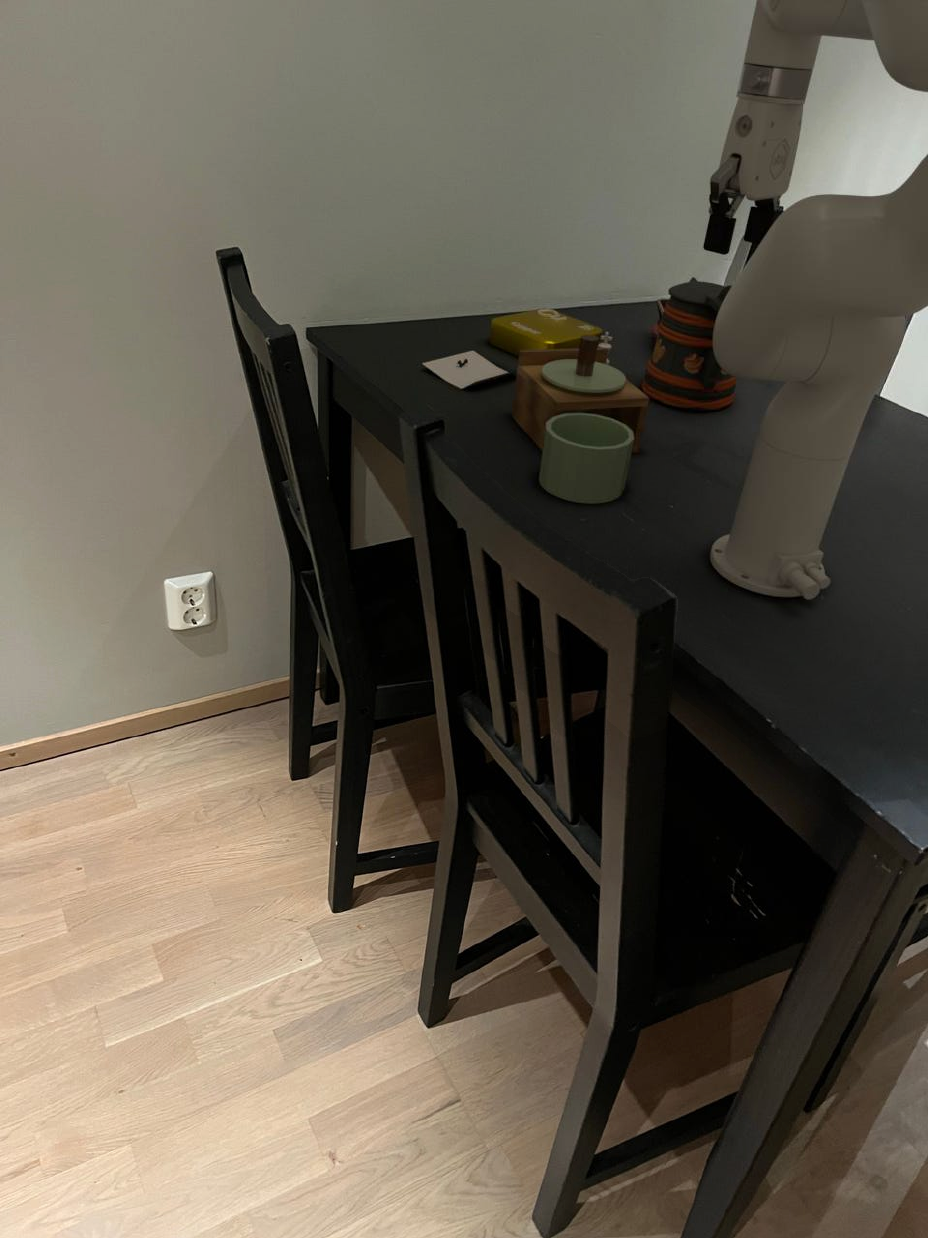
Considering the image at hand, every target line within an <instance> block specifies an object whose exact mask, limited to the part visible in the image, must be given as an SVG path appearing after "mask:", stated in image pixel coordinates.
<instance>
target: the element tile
mask: <svg viewBox="0 0 928 1238" xmlns="http://www.w3.org/2000/svg"><path fill="white" fill-rule="evenodd" d="M490 324H491V325H490V335H489V344H490V345H491V346H493V347H494V348H496V349H498V350H501V351H504V352H506V353H509V354H511V355H513V356H515V357H518V358H519V351H520V350H543V349H575V348H579V345H580V338H581V336H582V335H593V336H596V337H598V345H599V344H600V343H602V339H601V336H603V329H602V328H601V327H599V326H596V325H593V324H591V323H588V322H585V321H583V320H580V319H577V318H575V317H572V316H569V315H567V314H564V313H561V312H559V311H557V310H554V309H551V308H547V307H544V308H538V309H533V310H527V311H523V312H518V313H512V314H509V315H503V316H498V317H495V318H492V319H491V323H490ZM598 345H597V348H599V347H598Z"/></svg>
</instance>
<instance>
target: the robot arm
mask: <svg viewBox="0 0 928 1238" xmlns="http://www.w3.org/2000/svg"><path fill="white" fill-rule="evenodd" d="M753 11H754V12H753V17H752V22H751V27H750V29H749V36H748V40H747V45H746V50H745V54H744V59H743V63H742V68H741V72H740V77H739V82H738V86H737V92H736V95H735V97H736V98H737V101H736V104H735V107H734V110H733V113H732V116H731V119H730V123H729V126H728V130H727V132H726V133H727V134H726V137H725V142H724V144H723V148H722V153H721V157H720V160H719V166H718V169H717V170H715V171H714V173H713V174H712V175H711V176H710V179H709V189H710V190H709V191H710V193H709V195H708V201H709V208H708V214H709V217H708V222H707V226H706V231H705V236H704V240H703V247H702V248H703V250H704V251H707V252H711V253H715V254H719V255H722V256H724V255H728V254H729V253H730V249H731V246H732V240H733V237H734V232H735V228H736V223H737V218H735V214H736V213H737V211H738V209H739V207H740V206H741V204H742V203H743V200H744V199H745V198H746V199H747V200H748V201H750V202H751V201H752V202H754V205H751V206H750V209H749V213H748V217H747V221H746V225H745V230H744V233H743V241H744V242H746V243H751V244H756V245H758V246H757V248H755V250H754V252H753V253H752V255H751V256H750V258H749V259H748V261H747V262H746V264H745V265H744V267H743V269H742V270H741V272H740V273H739V275H738V276H737V278H736V279H735V280H734V282H733V284H732V287H731V289H730V290H729V292H728V294H727V295H726V297H725V299H724V301H723V303H722V305H721V308H720V310H719V312H718V315H717V318H716V322H715V326H714V331H713V351H714V355H715V358H716V360H717V362H718V364H719V365H720V367H721V368H722V369H723V370H724V371H725V372H726V373H728V374H729V375H731V376H733V377H736V378H737V379H740V380H745V381H754V382H755V381H757V382H776V383H777V382H778V383H779V382H781V383H785V384H784V385H783V386H782V387H781V389H780V390H779V391H778V392H777V393H776V394H775V396H774V397H773V398H772V399H771V401H770V403H769V404H768V406H767V407H766V410H765V412H764V414H763V417H762V419H761V421H760V424H759V425H760V426H759V430H758V431H757V435H756V439H755V443H754V446H753V450H752V454H751V457H750V460H749V465H748V468H747V471H746V475H745V479H744V482H743V486H742V489H741V493H740V496H739V500H738V504H737V507H736V511H735V514H734V518H733V522H732V525H731V529H730V533H729V534H725V535H723V536H721V537H718V538H717V539H716V540H715V541H714V542H713V544H712V546H711V549H710V553H709V560H710V563H711V565H712V567H713V568H714V570H715V571H717V573H718V574H719V575H721V577H723V578H724V579H726V580H727V581H729V582H731V583H732V584H733V585H736V586H738V587H739V588H742V589H745V590H747V591H750V592H753V593H756V594H761V595H764V596H771V597H778V598H797V597H803V598H804V599H806V600H808V601H810V600H813V599H815V598H817V596H818V595H819V593H820V592H821V590H824V589H826V588H828V587H829V586H830V585H831V581H832V580H831V579H830V577H829V576H827V574H826V571H825V570H826V569H825V567H824V565H823V563H822V560H823V558H824V552H823V551H822V550H820V545H821V543H822V540H823V536H824V535H825V530H826V528H827V524H828V521H829V519H830V516H831V513H832V511H833V508H834V504H835V502H836V499H837V496H838V493H839V491H840V488H841V484H842V481H843V479H844V476H845V473H846V470H847V467H848V464H849V461H850V458H851V455H852V453H853V451H854V448H855V445H856V442H857V439H858V437H859V434H860V431H861V429H862V426H863V423H864V421H865V419H866V416H867V413H868V411H869V408H870V406H871V404H872V402H873V401H874V398H875V396H876V394H877V392H878V390H879V388H880V387H881V384H882V383H883V382H884V380H885V378H886V376H887V374H888V372H889V371H890V370H891V368H892V366H893V364H894V362H895V360H896V358H897V356H898V355H899V352H900V350H901V347H902V344H903V341H904V339H905V334H906V327H907V326H906V325H907V324H906V323H907V322H906V321H907V320H906V317H907V316H911V315H914V314H916V313H919V312H921V311H922V310H924V309H925V308H927V307H928V153H927V154H926V155H925V156H924V158H923V159H922V160H920V162H919V164H918V165H917V166H916V168H914V170H913V172H912V173H911V174H910V175H909V176H908V177H907V179H906V180H905V181H904V182H903V183H902V184H901V185H900V186H899V187H897V188H896V189H895V190H894V191H891V192H888V193H886V194H880V195H854V194H852V195H851V194H835V193H834V194H833V193H827V194H815V195H811V196H807V197H805V198H802V199H800V200H798V201H796V202H794V203H793V204H791V205H789V206H788V207H787V208H786V209H784V210H783V211H782V212H781V214H779V216H777V218H776V214H777V211H778V209H780V205H781V200H780V199H781V198H782V196H783V195H785V194H786V193H787V192H788V190H789V187H790V183H791V180H792V174H793V170H794V166H795V161H796V156H797V152H798V146H799V141H800V136H801V131H802V130H801V129H802V123H803V115H804V114H803V113H804V105H805V103H806V99H807V96H808V95H807V94H808V91H809V88H810V84H811V80H812V75H813V72H814V68H815V64H816V59H817V55H818V52H819V47H820V44H821V39H822V37H831V38H832V37H833V38H843V39H853V40H860V41H861V40H862V41H873V42H874V44H875V48H876V51H877V54H878V56H879V60H880V61H881V63H882V65H883V67H884V70H885V71H886V73H887V74H888V76H889V77H890V78H891V79H892V80H893V81H895V82H896V83H897V84H899V85H901V86H903V87H905V88H907V89H910V90H913V91H915V92H916V91H917V92H922V93H928V0H756V3H755V7H754V10H753ZM729 199H731V202H730V200H729ZM775 218H776V219H775Z"/></svg>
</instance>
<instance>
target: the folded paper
mask: <svg viewBox="0 0 928 1238" xmlns="http://www.w3.org/2000/svg"><path fill="white" fill-rule="evenodd" d="M421 364H422V365H423V366H425V367H426V368H427V369H428V370H430V371H432V373H434V374H435V375H437V376H438V377H439V378H441V379H442V380H444V381H445V382H447V383H448V384H451V385H453V386H454V387H457V388H459V389H462V390H463V389H466V388H470V387H473V386H478V385H480V384H484V383H487V382H491V381H494V380H497V379H500V378H505V377H507V376H511V375H514V374H517V369H515V370H512V371H507V370H504V369H503V368H500V367H499V366H496V365H495V364H493V363H492V362H491V361H489V360H488V359H486V358H485V357H484V356H482V355H480V354H479V353H477V352H476V351H475V350H469V351H466V352H465V351H464V352H462V353H457V354H453V355H450V356H446V357H441V358H437V359H434V360H430V361H426V362H422V363H421Z"/></svg>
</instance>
